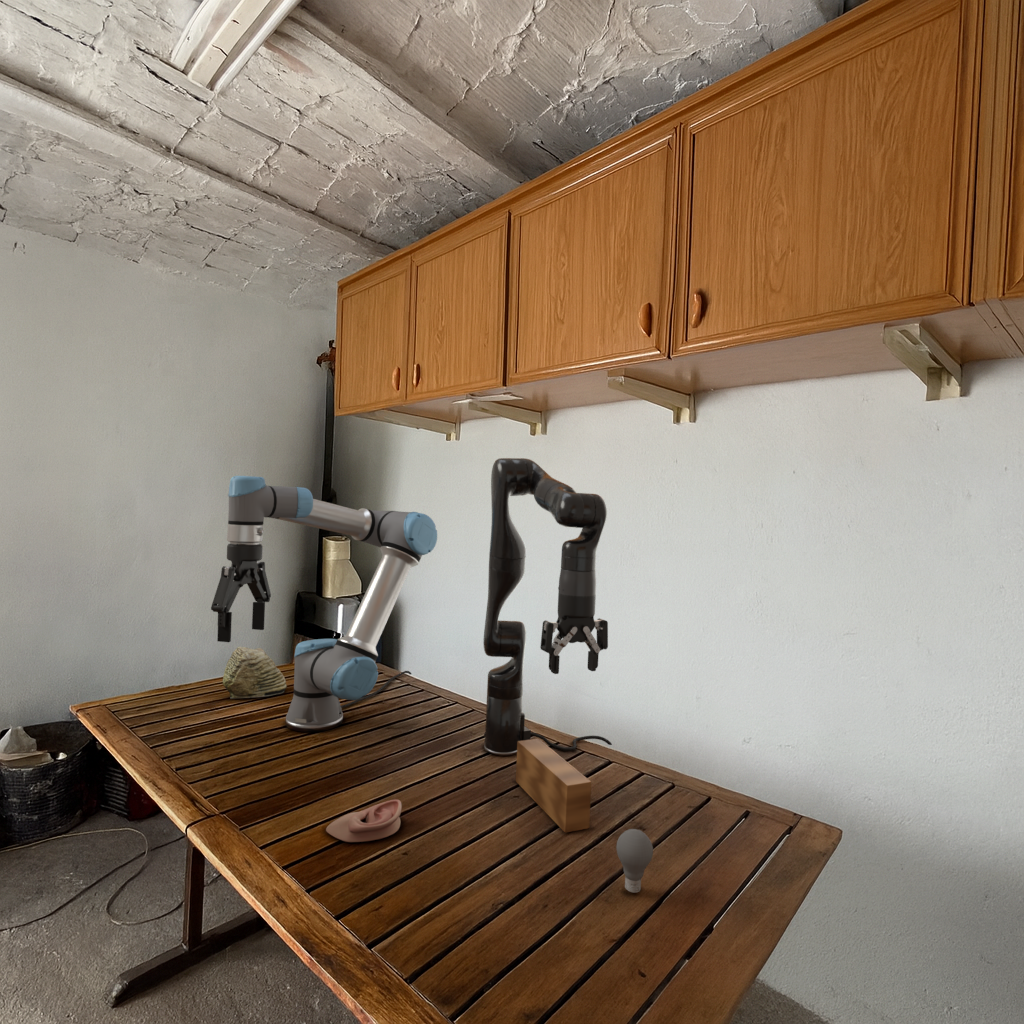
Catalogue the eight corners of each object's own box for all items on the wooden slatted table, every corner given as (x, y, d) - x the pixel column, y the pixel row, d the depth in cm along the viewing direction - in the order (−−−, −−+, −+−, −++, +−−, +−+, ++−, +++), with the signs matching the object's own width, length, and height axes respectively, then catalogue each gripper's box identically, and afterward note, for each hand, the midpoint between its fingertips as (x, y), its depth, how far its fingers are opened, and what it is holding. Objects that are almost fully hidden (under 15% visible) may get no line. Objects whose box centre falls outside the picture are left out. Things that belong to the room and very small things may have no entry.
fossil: (218, 695, 195) (220, 647, 195) (278, 685, 208) (279, 640, 207) (228, 703, 189) (230, 653, 188) (289, 692, 201) (290, 645, 201)
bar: (515, 781, 145) (517, 741, 145) (537, 778, 147) (538, 738, 147) (565, 833, 123) (567, 785, 123) (589, 828, 126) (591, 781, 126)
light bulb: (610, 879, 108) (613, 822, 108) (644, 879, 109) (647, 822, 109) (619, 902, 102) (622, 840, 102) (655, 901, 103) (658, 840, 103)
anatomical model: (318, 816, 117) (346, 789, 129) (317, 837, 118) (346, 808, 129) (385, 827, 115) (408, 798, 126) (384, 848, 115) (407, 818, 126)
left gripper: (227, 547, 132) (224, 648, 133) (287, 540, 157) (284, 626, 157) (195, 545, 134) (191, 645, 134) (259, 539, 158) (256, 623, 159)
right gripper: (554, 595, 121) (550, 679, 122) (617, 594, 127) (613, 674, 127) (537, 589, 128) (533, 669, 129) (597, 588, 134) (594, 664, 134)
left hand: (241, 635), depth 146 cm, fingers open, 13 cm apart
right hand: (573, 671), depth 128 cm, fingers open, 8 cm apart
